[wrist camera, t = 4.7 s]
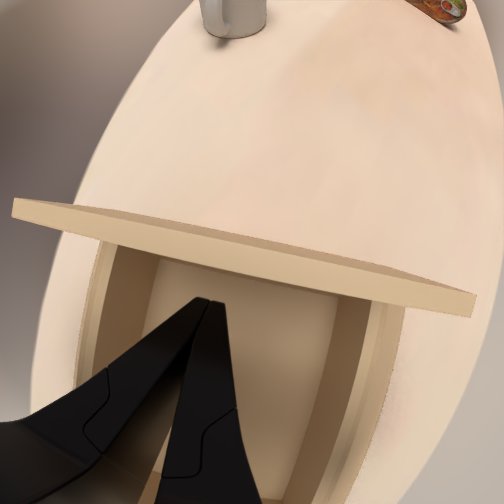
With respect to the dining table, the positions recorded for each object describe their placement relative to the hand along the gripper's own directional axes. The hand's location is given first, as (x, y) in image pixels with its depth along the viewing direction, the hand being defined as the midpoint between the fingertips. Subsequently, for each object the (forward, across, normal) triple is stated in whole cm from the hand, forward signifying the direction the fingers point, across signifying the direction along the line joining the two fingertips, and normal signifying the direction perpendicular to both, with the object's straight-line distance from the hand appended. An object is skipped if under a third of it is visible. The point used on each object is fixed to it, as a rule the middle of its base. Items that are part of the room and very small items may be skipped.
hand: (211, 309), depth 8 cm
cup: (+29, +8, -11) cm, 32 cm away
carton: (+2, 0, +14) cm, 15 cm away
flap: (+3, 0, -1) cm, 3 cm away
